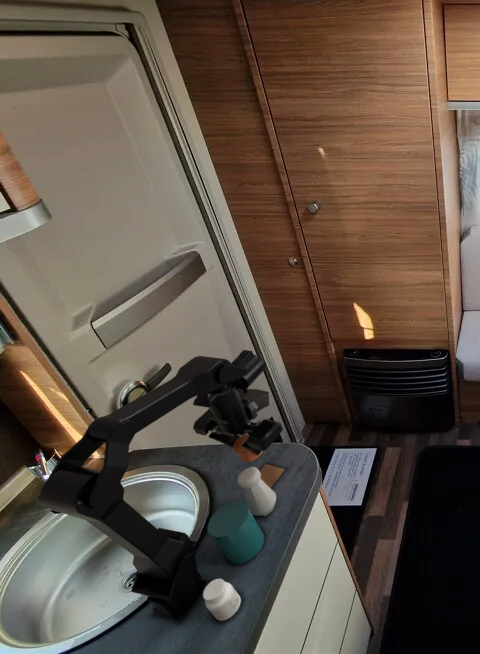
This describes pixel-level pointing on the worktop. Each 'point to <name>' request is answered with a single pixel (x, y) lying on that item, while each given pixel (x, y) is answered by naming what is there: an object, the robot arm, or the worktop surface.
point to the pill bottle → (221, 599)
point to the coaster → (270, 474)
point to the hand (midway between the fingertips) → (250, 451)
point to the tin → (236, 532)
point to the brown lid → (244, 450)
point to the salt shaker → (256, 492)
